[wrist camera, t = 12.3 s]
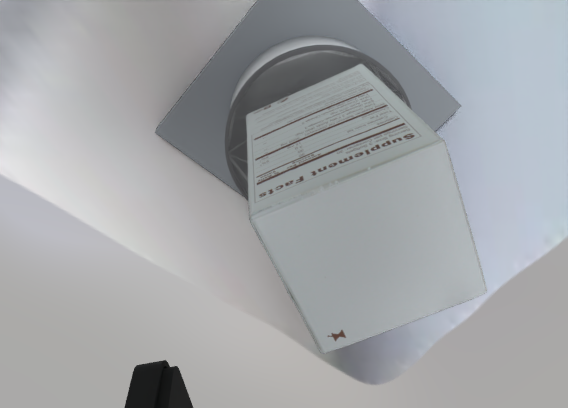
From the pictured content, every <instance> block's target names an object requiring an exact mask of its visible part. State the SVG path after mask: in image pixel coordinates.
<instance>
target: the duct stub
mask: <svg viewBox="0 0 568 408" xmlns="http://www.w3.org/2000/svg"><path fill="white" fill-rule="evenodd" d="M359 64H363V65H364V66H365V67H366V68H367V69H368V70H370V71H371V72H372V73H373V74H374V75H375V76H376V77H377V78H379V80H381V81H382V82H383V83H384V84H385V85H386V86H387V87H388V88H389V89H390V90H391V91H392V92H393V93H395V94H396V95H397V96H398V97H399V98H400V99H401V100H402V101H403V102H404V103H405V104H406V105H407V106H408V107H409V108H410V109H411V110H412V111H413V112H414V113H415V114H416V115H417V116H418V117H419V118H421V119H422V120H423V121H424V122H425V123H426V124H427V125H428V126H429V127H430V128H431V129H432V130H433V131H434V132H435V131H436V130H437V129H438V128H439V127H440V126H441V125H442V124H443V123H444V122H445V121H446V120H447V119H448V118H449V117H450V116H451V115H453V114H454V113H455V112H456V111H457V110H458V109H459V108H460V107H461V105H460V104H459V103H458V102H457V101H456V100H455V99H454V98H453V97H452V96H451V95H450V94H449V93H448V92H447V91H446V90H445V89H444V88H443V87H442V86H441V85H440V84H439V83H438V82H437V80H436V79H435V78H434V77H433V76H432V75H431V74H430V73H429V72H428V71H427V70H426V69H425V68H424V67H423V66H422V65H421V64H420V63H419V62H418V61H417V60H416V59H415V58H414V57H413V56H412V55H411V54H410V53H409V52H408V51H407V50H406V49H405V48H404V47H403V46H402V45H401V44H400V43H399V42H398V41H397V40H396V39H395V38H394V37H393V36H392V35H391V34H390V33H389V32H388V31H387V30H386V28H385V27H384V26H383V25H382V24H381V23H380V22H379V21H378V20H377V19H376V18H375V17H374V16H373V15H372V14H371V13H370V12H369V11H368V10H367V9H366V8H365V7H364V6H363V5H362V4H361V3H360V2H359V1H358V0H257V1H256V3H255V4H254V5H253V6H252V8H251V9H250V10H249V12H248V13H247V14H246V15H245V17H244V18H243V19H242V20H241V22H240V23H239V24H238V26H237V27H236V28H235V29H234V31H233V32H232V33H231V34H230V36H229V37H228V38H227V39H226V41H225V42H224V43H223V45H222V46H221V47H220V48H219V50H218V51H217V52H216V53H215V55H214V56H213V57H212V59H211V60H210V61H209V62H208V64H207V65H206V66H205V67H204V69H203V70H202V71H201V72H200V74H199V75H198V76H197V78H196V79H195V80H194V81H193V83H192V84H191V85H190V86H189V88H188V89H187V90H186V92H185V93H184V94H183V95H182V97H181V98H180V99H179V100H178V102H177V103H176V104H175V105H174V107H173V108H172V109H171V111H170V112H169V113H168V114H167V116H166V117H165V118H164V119H163V121H162V122H161V123H160V125H159V126H158V127H157V129H156V131H155V133H156V134H158V135H159V136H160V137H162V138H163V139H165V140H166V141H167V142H169V143H170V144H171V145H173V146H174V147H176V148H177V149H178V150H180V151H181V152H183V153H184V154H185V155H187V156H188V157H189V158H191V159H192V160H194V161H195V162H196V163H198V164H199V165H201V166H202V167H203V168H205V169H206V170H208V171H209V172H210V173H212V174H213V175H214V176H216V177H217V178H219V179H220V180H221V181H223V182H224V183H226V184H227V185H228V186H230V187H231V188H232V189H234V190H235V191H237V192H238V193H239V194H241V195H242V196H244V197H245V198H246V199H247V200H248V155H247V128H246V115H247V114H249V113H251V112H253V111H256V110H258V109H260V108H263V107H265V106H267V105H269V104H271V103H274V102H276V101H278V100H280V99H283V98H285V97H287V96H290V95H292V94H294V93H296V92H298V91H301V90H303V89H305V88H307V87H310V86H312V85H314V84H317V83H319V82H321V81H323V80H326V79H328V78H330V77H333V76H335V75H337V74H339V73H341V72H344V71H346V70H348V69H351V68H353V67H355V66H357V65H359Z"/></svg>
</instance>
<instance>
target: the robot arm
mask: <svg viewBox="0 0 568 408" xmlns="http://www.w3.org/2000/svg"><path fill="white" fill-rule="evenodd" d="M125 408H193V406H192V403H191V400H190V398H189V395H188V392H187V390H186V387H185V384H184V381H183V379H182V376H181V373H180V371H179V368H178V367H177V366H175V367H170V366H169V364H168V362H167V361H166V360H164V361H159V362H153V363H147V364H142V365H137V366H136V367H135V368H134V371H133V375H132V379H131V383H130V387H129V392H128V396H127V400H126V404H125Z"/></svg>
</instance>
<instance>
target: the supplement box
mask: <svg viewBox="0 0 568 408" xmlns="http://www.w3.org/2000/svg"><path fill="white" fill-rule="evenodd" d="M246 128H247V155H248V201H249V217H250V222H251V224H252V226H253V228H254V230H255V232H256V234H257V235H258V237H259V239H260V241H261V243H262V245H263V246H264V248H265V250H266V252H267V254H268V255H269V257H270V259H271V261H272V263H273V265H274V267H275V268H276V270H277V272H278V274H279V276H280V278H281V280H282V281H283V283H284V285H285V287H286V290H287V292H288V294H289V296H290V298H291V299H292V301H293V302H294V304H295V305H296V307H297V309H298V311H299V313H300V314H301V316H302V318H303V320H304V322H305V324H306V326H307V328H308V330H309V331H310V333H311V335H312V337H313V339H314V341H315V343H316V345H317V347H318V349H319V351H320V352H321V353H323V354H325V353H327V352H330V351H333V350H336V349H340V348H343V347H346V346H348V345H351V344H354V343H357V342H360V341H362V340H365V339H368V338H370V337H373V336H376V335H378V334H381V333H383V332H386V331H389V330H392V329H394V328H397V327H399V326H402V325H405V324H407V323H410V322H413V321H416V320H418V319H421V318H424V317H426V316H429V315H432V314H434V313H437V312H440V311H442V310H445V309H447V308H450V307H453V306H455V305H458V304H461V303H464V302H466V301H469V300H472V299H474V298H476V297H478V296H480V295H483V294H485V293H486V292H487V289H486V284H485V280H484V276H483V272H482V268H481V265H480V261H479V257H478V254H477V250H476V247H475V243H474V240H473V236H472V232H471V229H470V225H469V222H468V218H467V215H466V211H465V208H464V204H463V201H462V197H461V194H460V190H459V187H458V183H457V180H456V176H455V173H454V169H453V166H452V163H451V159H450V156H449V153H448V150H447V146H446V143H445V141H444V140H443V139H442V138H441V137H440V136H439V135H438V134H436V133H435V132H434V131H433V130H432V129H431V128H430V127H429V126H428V125H427V124H426V123H425V122H424V121H423V120H422V119H421V118H419V117H418V116H417V115H416V114H415V113H414V112H413V111H412V110H411V109H410V108H409V107H408V106H407V105H406V104H405V103H404V102H403V101H402V100H401V99H400V98H399V97H398V96H397V95H396V94H395V93H393V92H392V91H391V90H390V89H389V88H388V87H387V86H386V85H385V84H384V83H383V82H382V81H381V80H379V78H377V77H376V76H375V75H374V74H373V73H372V72H371V71H370V70H368V69H367V68H366V67H365V66H364V65H363V64H359V65H357V66H355V67H353V68H351V69H348V70H346V71H344V72H341V73H339V74H337V75H335V76H333V77H330V78H328V79H326V80H323V81H321V82H319V83H317V84H314V85H312V86H310V87H307V88H305V89H303V90H301V91H298V92H296V93H294V94H292V95H290V96H287V97H285V98H283V99H280V100H278V101H276V102H274V103H271V104H269V105H267V106H265V107H263V108H260V109H258V110H256V111H253V112H251V113H249V114H247V115H246Z"/></svg>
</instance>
